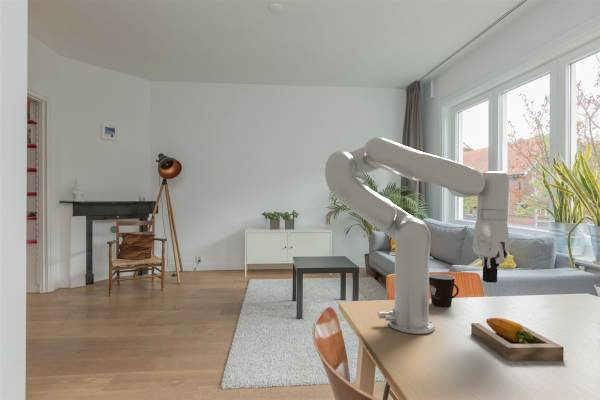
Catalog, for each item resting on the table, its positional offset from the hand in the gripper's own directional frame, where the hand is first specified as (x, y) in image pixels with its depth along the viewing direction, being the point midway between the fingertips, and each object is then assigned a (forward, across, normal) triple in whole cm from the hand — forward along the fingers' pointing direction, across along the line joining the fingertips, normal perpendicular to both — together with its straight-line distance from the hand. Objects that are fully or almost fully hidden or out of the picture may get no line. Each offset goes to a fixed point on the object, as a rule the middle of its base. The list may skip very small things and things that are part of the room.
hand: (489, 281), depth 96 cm
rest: (+14, +9, +1) cm, 17 cm away
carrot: (+12, -3, +1) cm, 12 cm away
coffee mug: (+15, -24, -2) cm, 28 cm away
